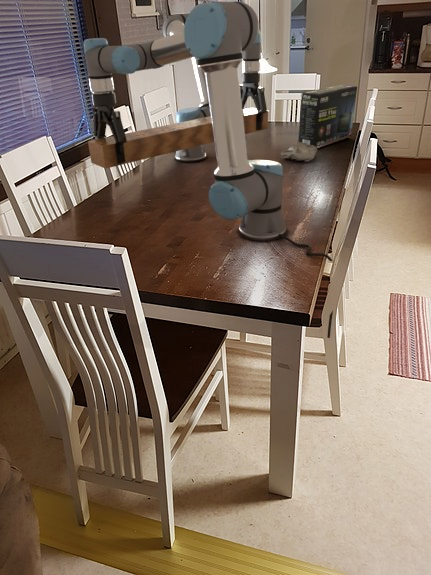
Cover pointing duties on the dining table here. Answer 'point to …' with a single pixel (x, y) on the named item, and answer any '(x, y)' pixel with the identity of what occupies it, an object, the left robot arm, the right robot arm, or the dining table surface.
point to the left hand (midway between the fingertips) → (250, 127)
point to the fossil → (300, 152)
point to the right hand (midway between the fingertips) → (113, 160)
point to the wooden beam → (164, 139)
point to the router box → (326, 114)
